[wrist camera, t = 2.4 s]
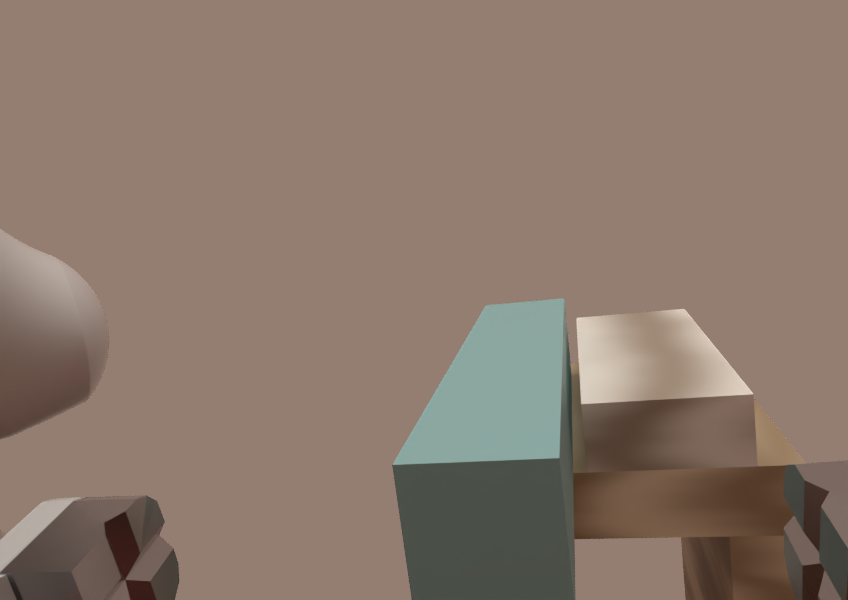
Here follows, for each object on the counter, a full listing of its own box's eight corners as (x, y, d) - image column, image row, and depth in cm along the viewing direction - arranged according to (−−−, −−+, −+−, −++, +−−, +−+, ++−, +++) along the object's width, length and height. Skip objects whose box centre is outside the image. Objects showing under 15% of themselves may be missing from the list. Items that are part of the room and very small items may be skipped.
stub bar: (413, 614, 18) (392, 465, 17) (494, 379, 37) (485, 305, 36) (575, 615, 17) (559, 458, 16) (571, 374, 36) (564, 298, 35)
